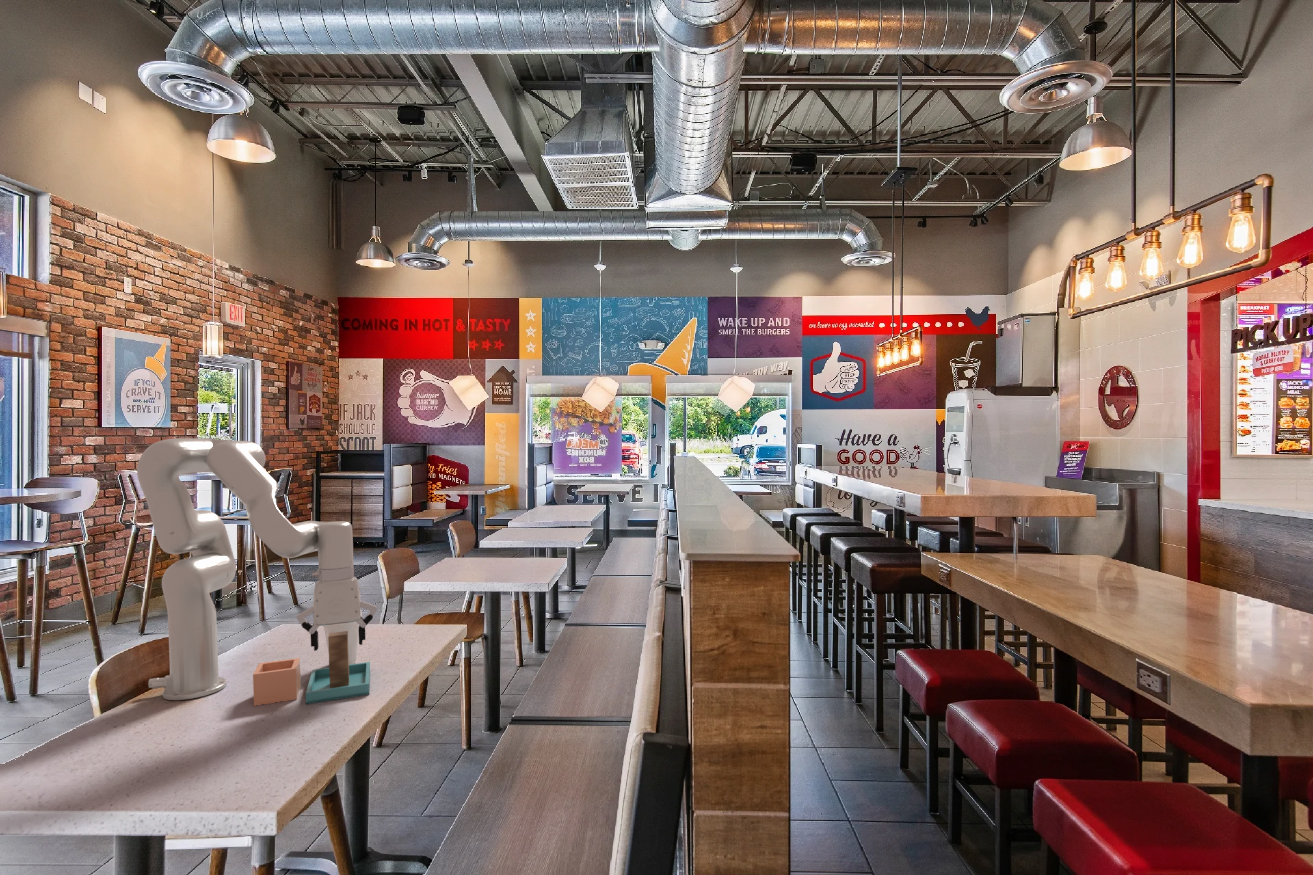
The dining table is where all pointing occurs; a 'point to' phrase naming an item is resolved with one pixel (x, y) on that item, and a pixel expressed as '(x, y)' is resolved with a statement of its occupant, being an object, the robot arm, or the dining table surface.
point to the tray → (322, 691)
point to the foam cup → (352, 637)
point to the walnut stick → (338, 659)
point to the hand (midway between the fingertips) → (338, 646)
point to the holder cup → (276, 681)
